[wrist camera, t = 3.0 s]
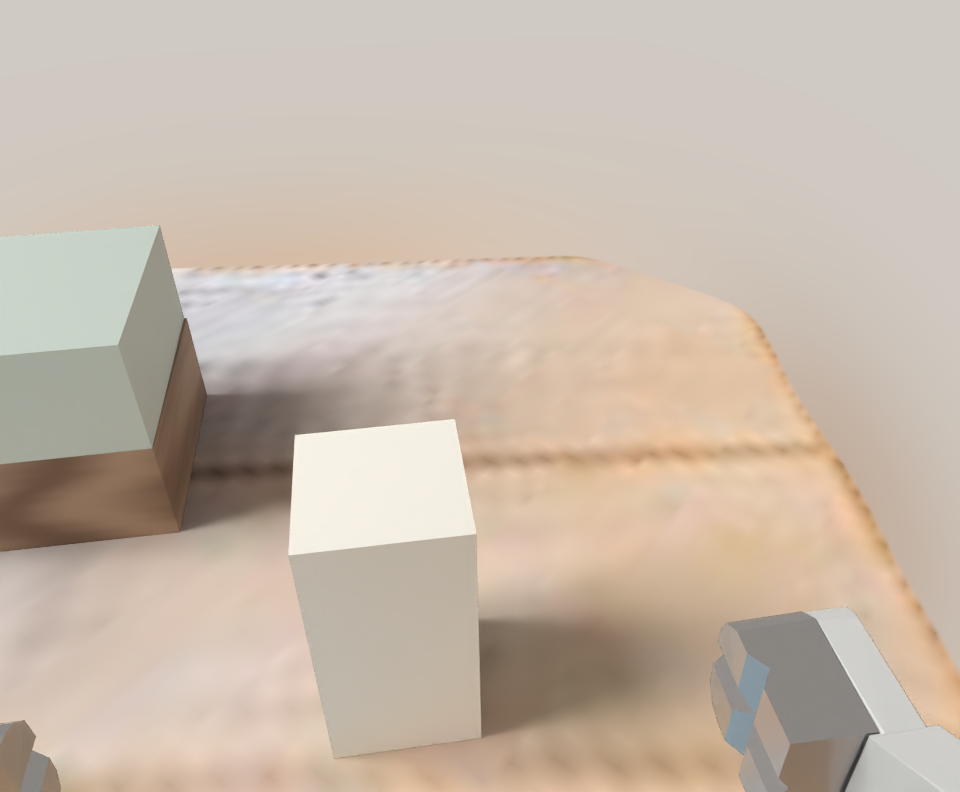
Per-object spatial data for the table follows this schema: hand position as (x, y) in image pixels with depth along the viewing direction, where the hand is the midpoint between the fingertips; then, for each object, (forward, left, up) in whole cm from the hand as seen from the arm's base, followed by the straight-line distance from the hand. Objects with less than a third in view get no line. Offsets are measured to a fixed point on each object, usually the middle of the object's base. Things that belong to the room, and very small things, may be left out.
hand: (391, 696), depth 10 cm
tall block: (0, +12, -18) cm, 22 cm away
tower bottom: (-14, +26, -18) cm, 35 cm away
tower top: (-14, +26, -13) cm, 33 cm away
